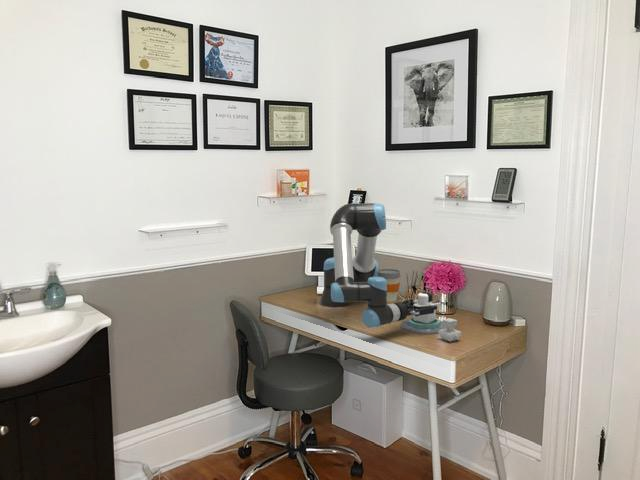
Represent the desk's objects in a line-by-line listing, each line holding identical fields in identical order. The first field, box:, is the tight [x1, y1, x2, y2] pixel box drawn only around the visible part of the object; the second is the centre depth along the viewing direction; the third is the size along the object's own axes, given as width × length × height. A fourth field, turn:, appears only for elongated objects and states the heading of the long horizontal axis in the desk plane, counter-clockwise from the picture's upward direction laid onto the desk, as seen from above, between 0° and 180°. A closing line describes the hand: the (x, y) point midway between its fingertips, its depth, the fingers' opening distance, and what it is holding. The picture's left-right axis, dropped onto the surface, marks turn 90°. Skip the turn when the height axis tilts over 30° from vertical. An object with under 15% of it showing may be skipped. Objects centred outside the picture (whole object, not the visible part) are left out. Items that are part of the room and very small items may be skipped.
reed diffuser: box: [406, 270, 419, 301], centre depth 252 cm, size 10×7×20 cm
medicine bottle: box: [412, 291, 437, 324], centre depth 231 cm, size 7×7×12 cm
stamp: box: [437, 317, 463, 342], centre depth 215 cm, size 9×7×8 cm
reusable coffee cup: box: [377, 268, 401, 303], centre depth 279 cm, size 13×13×15 cm
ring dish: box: [400, 316, 447, 335], centre depth 232 cm, size 20×20×3 cm
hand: (432, 303), depth 234 cm, fingers closed on medicine bottle, 8 cm apart
